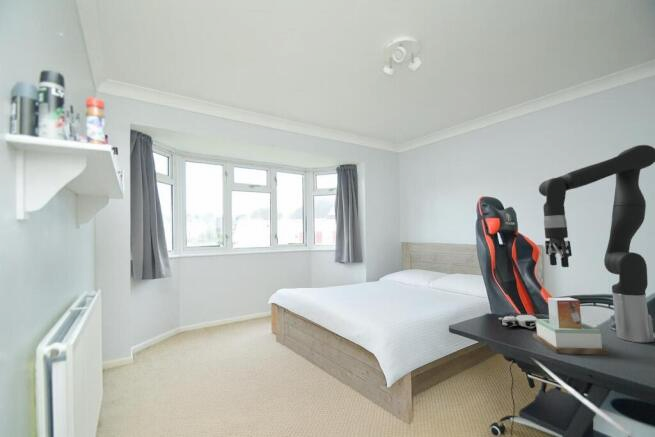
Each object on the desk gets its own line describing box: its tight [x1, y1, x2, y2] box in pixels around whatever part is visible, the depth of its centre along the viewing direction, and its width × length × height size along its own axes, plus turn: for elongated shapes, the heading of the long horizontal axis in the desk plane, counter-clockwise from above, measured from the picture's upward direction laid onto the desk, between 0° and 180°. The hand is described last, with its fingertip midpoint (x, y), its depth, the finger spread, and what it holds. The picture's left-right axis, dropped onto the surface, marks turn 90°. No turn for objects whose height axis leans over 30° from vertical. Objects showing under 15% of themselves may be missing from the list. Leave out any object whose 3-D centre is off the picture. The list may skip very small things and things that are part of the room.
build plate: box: [532, 333, 610, 356], centre depth 112 cm, size 16×17×2 cm
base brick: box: [536, 318, 603, 348], centre depth 112 cm, size 14×14×6 cm
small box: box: [547, 297, 582, 329], centre depth 113 cm, size 8×6×10 cm
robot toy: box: [498, 314, 538, 330], centre depth 137 cm, size 12×4×15 cm
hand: (559, 266), depth 124 cm, fingers open, 8 cm apart
